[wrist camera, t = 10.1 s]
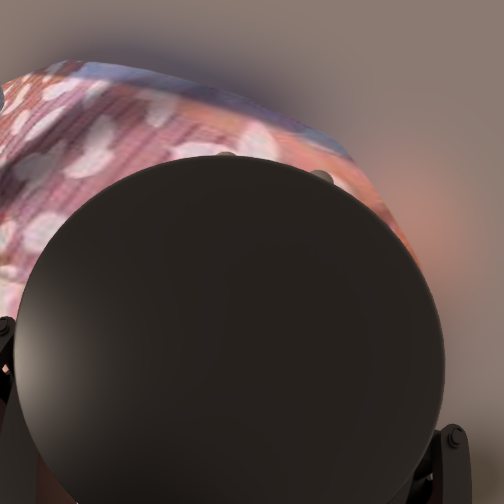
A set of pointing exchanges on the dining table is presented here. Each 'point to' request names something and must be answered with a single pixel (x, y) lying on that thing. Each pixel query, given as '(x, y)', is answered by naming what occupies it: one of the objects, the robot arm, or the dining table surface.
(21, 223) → the dining table surface
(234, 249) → the jar
